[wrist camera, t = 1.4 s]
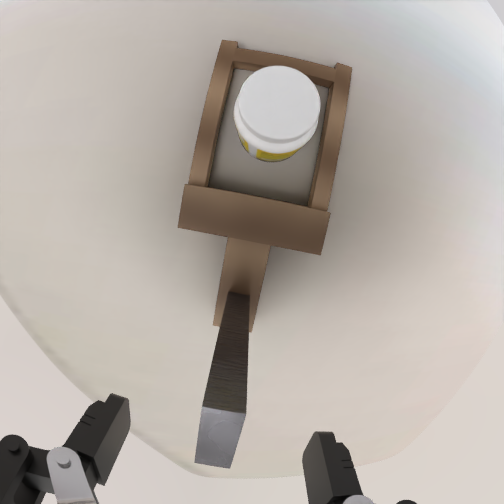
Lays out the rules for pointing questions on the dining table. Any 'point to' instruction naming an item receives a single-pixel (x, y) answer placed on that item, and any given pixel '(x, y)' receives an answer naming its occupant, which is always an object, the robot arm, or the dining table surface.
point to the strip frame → (251, 237)
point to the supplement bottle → (276, 112)
